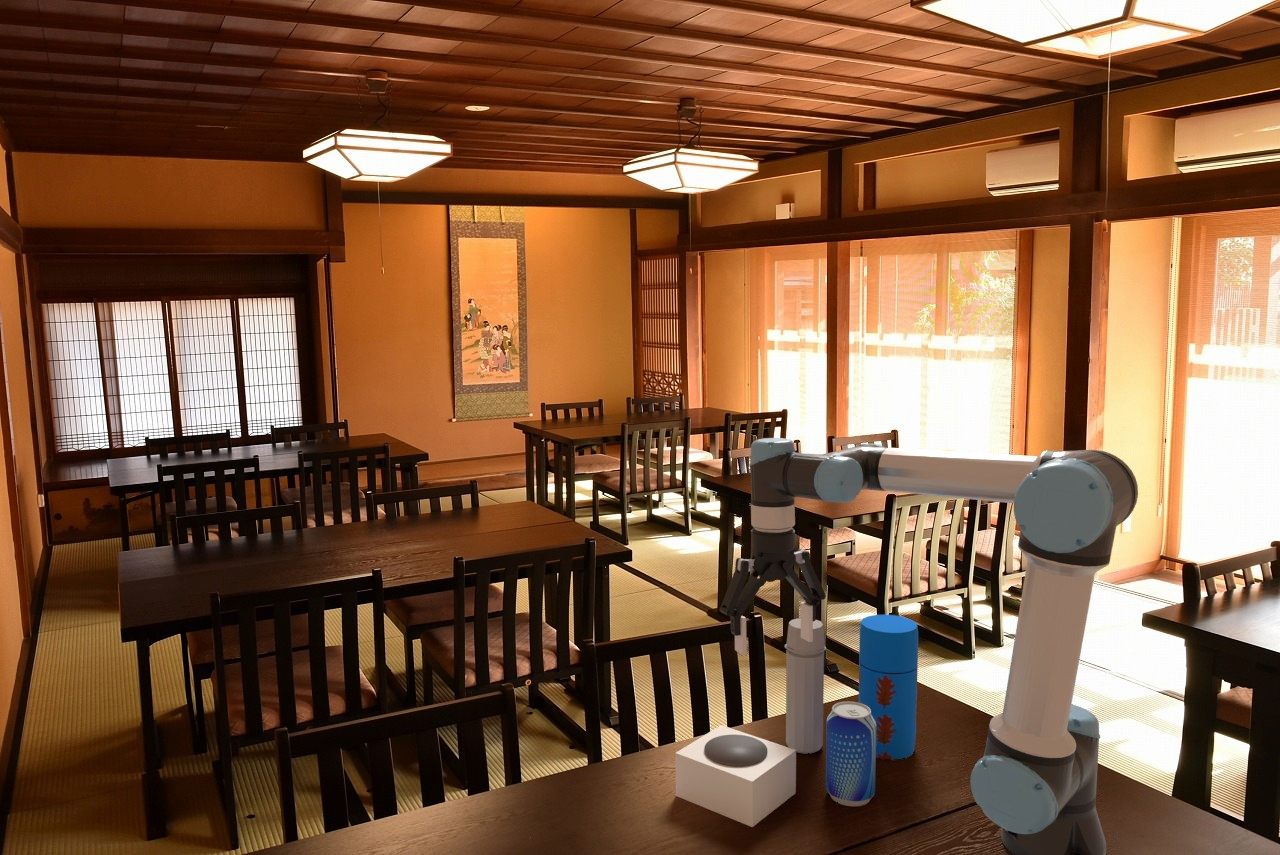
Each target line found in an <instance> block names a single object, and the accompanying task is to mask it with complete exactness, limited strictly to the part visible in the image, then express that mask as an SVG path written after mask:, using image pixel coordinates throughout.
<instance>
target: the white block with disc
mask: <svg viewBox="0 0 1280 855" xmlns="http://www.w3.org/2000/svg"><path fill="white" fill-rule="evenodd" d="M796 781H797V752H796V750H794V749H791V748H789V747H788V746H785V745H782V744H780V743H779V744H778V743H777V742H772V741H769V740H767V739H764V738H762V737H758V736H755V735H752V734H750V733H746V732H743V731H740V730H737V729H734V728H732V727H728V726H725V725H722V724H721V725H719V726H717V727H716V728H714V729H712V730H710V731H709V732H707V733H706V734H704V735H702V736H701V737H699V738H697V739H696V740H694V741H693V742H691V743H690V744H688V745H686V746H684V747H683V748H681V749H680V750H677V751H676V752H675V796H676V797H678V798H680V799H683V800H685V801H687V802H689V803H692V804H695V805H697V806H700V807H702V808H704V809H706V810H710V811H712V812H715V813H716V814H719V815H721V816H724V817H726V818H729V819H731V820H734V821H735V822H739V823H741V824H743V825H746V826H748V827H751V828H753V827H755V826H756V825H757V824H759V823H760V822H761V821H762V820H763V819H765V818H766V817H767V816H769V814H771V813H772V812H774V810H776V809H777V808H779V807H780V806H782V804H784V803H785V802H786V801H787V800H788V799H790V798H792V796H794V795H796V792H797V790H796V789H797V788H796V787H797V782H796Z"/></svg>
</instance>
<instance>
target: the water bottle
mask: <svg viewBox="0 0 1280 855" xmlns="http://www.w3.org/2000/svg"><path fill="white" fill-rule="evenodd" d="M824 629H825V628H824V624H823V622H822V621H821V620H818V619H816V620H815V621H813V641H812V642H808V641H806V640H804V639H802V638H801V617H799V618H795V619H791V620H790V621H789V622H788V627H787V636H786V644H784V648H785V649H786V651H785V653H786V656H785V657H786V659H785V660H786V663H785V668H786V671H785V672H786V675H785V676H786V678H785V680H786V683H785V686H786V687H785V692H786V693H785V744H786V745H787V747H788V748H791V749H794V750H796V753H800V754H804V755H805V754H806V755H807V754H808V753H809V754H813V753H816V752H817V753H818V752H819V751H820V750H821V749H822V747H823V746H824V694H825V693H824V691H825V690H824V689H825V688H824V686H825V685H824V683H825V682H824V681H825V680H824V678H825V677H824V676H825V675H824V674H825V673H824V672H825V670H824V669H825V651H826V650H827V647H826V642H825V631H824ZM809 754H808V755H809Z"/></svg>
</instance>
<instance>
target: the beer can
mask: <svg viewBox="0 0 1280 855" xmlns="http://www.w3.org/2000/svg"><path fill="white" fill-rule="evenodd" d="M825 738H826V740H825V744H826V746H825V748H826V750H825V752H826V753H825V759H826V760H825V789H826V791H827V793H828V794H829V795H830V798H831V799H832V800H833V801H834V802H836V803H837V802H838V804H839V805H842V806H846V807H862V806H865V805H867V804H868V803H869V802H870V801H871V799H872V798H873V797H874V795H875V794H876V760H877V758H876V722H875V720H874V718H873V716H872V715H871V710H870V708H869V707H868V706H866V705H864V704H861V703H859V702H858V701H857V702H856V701H840V702H836V703H835V704H834V705H832V707H831V711H830V713H829V714H828V716H827V718H826V737H825Z"/></svg>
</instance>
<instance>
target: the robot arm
mask: <svg viewBox="0 0 1280 855" xmlns="http://www.w3.org/2000/svg"><path fill="white" fill-rule="evenodd" d="M794 443H795V442H794V441H793V440H792V439H790V438H789V439H788V438H785V437H784V438H783V437H767V438H766V437H765V438H764V437H763V438H759V439H755V440H754V441H753V442H752V443H751V445H750V460H749V462H750V463H749V465H748V466H749V473H750V474H749V475H750V477H749V478H750V489H751V490H750V496H751V498H750V519H751V520H750V522H751V523H750V524H751V527H753V528H752V529H751V530H750V534H751V535H750V537H751V540H750V542H751V544H750V545H751V551H752V555H751V558H749V559H747V558H745V559H744V558H741V557H738V558H736V559H735V564H734V565H735V567H734V572H733V575H732V578H731V579H730V582H729V584H728V587H727V590H726V592H725V595H724V597H723V600H722V602H721V605H720V607H719V612H721V613H722V614H724V615H725V616H727V617H729V618H730V632H731V634H732V635H733V636H734V651H736V652H737V653H739V654H740V655H742V656H745V655H747V654H748V652H747V651H748V650H747V618H746V617H745V616H743V615H744V613H745V612H746V610H747V608H748V607H750V606H749V605H750V604H751V603H752V601H753V600H754V598H755V596H756V595H757V593H758V592H759V590H760V588H762V587H763V586H765V584H766V583H767V582H768V583H771V582H772V583H773V582H775V581H785V579H786V580H787V581H788V583H790V585H791V586H792V587H793V588H794V589H795V591H796V592H797V593H798V594H799V596H801V598H802V599H803V600H804V601H801V602H800V612H799V613H800V618H801V638H802V639H804V640H806V641H808V642H812V641H813V621H815V620H817V606H819V605H820V604H821V600H822V601H823V600H825V599H826V596H827V595H826V592H825V590H824V589H823V586H822V584H821V582H820V579H819V578H818V577H819V576H818V575H817V573H816V571H815V569H814V567H813V565H812V562H811V561H812V560H811V553H810V552H809V551H807V550H805V549H801V548H798V549H797V550H796V551H794V550H795V548H796V535H795V534H796V530H795V529H794V528H793V527H794V526H795V525H796V516H795V514H796V510H795V506H796V505H795V498H802V499H807V500H817V501H823V502H828V503H833V504H835V503H843V504H845V503H847V504H848V503H851V502H854V500H856V499H857V496H859V495H860V493H861V491H862V490H863V491H864V490H865V491H866V490H867V491H876V492H877V491H878V492H890V493H891V492H893V493H903V494H914V495H922V496H923V495H924V496H932V497H933V496H934V497H935V496H936V497H945V498H954V499H955V498H956V499H964V500H965V499H967V500H977V501H988V502H997V503H1009V504H1013V513H1014V519H1015V520H1014V521H1015V522H1016V525H1017V527H1019V529H1020V530H1019V538H1018V544H1017V546H1018V549H1019V550H1020V552H1021V553H1022V554H1023V555H1024V557H1025V558H1026V567H1025V568H1026V569H1025V574H1024V579H1023V580H1024V581H1023V586H1022V592H1021V598H1020V606H1019V611H1018V616H1017V623H1016V627H1015V628H1016V629H1015V636H1014V641H1013V646H1012V647H1013V648H1012V654H1011V660H1010V665H1009V671H1008V678H1007V684H1006V685H1007V686H1006V691H1005V696H1004V701H1003V702H1004V703H1003V708H1002V712H1001V713H999V714H997V715H995V716H993V717H992V718H991V719H990V722H989V725H988V732H987V738H986V742H985V749H984V754H983V757H981V758H979V759H978V760H977V761H976V763H975V764H974V767H973V768H972V771H971V774H970V777H969V778H970V779H969V780H970V781H969V782H970V789H971V793H972V796H973V798H974V800H975V801H974V802H975V803H976V804H977V805H978V806H979V807H980V809H981V810H982V813H984V815H985V816H986V817H987V818H988V819H989V820H990V821H992V822H993V823H994V824H995V825H997V826H999V827H1000V828H1001V830H1000V833H1001V834H1000V839H1001V842H1002V844H1003V845H1004V847H1005V848H1006V849H1007V850H1008V851H1009V852H1010V853H1011V854H1012V855H1107V840H1106V837H1105V835H1104V831H1103V828H1102V825H1101V822H1100V819H1099V815H1098V811H1097V808H1096V802H1097V801H1096V798H1097V784H1098V783H1097V782H1098V764H1099V763H1098V761H1099V750H1100V749H1099V742H1100V739H1101V735H1100V723H1099V720H1098V718H1097V717H1096V715H1095V714H1093V713H1092V712H1091V711H1089V710H1087V709H1085V708H1083V707H1081V706H1078V705H1076V704H1072V703H1073V697H1074V692H1075V686H1076V680H1077V676H1078V671H1079V670H1078V669H1079V665H1080V658H1081V653H1082V647H1083V641H1084V636H1085V630H1086V625H1087V619H1088V614H1089V609H1090V602H1091V596H1092V593H1093V592H1092V591H1093V586H1094V580H1095V574H1096V573H1097V572H1099V571H1100V570H1102V569H1104V568H1106V567H1108V566H1109V565H1110V562H1111V556H1112V551H1113V546H1114V543H1115V542H1114V541H1115V535H1116V531H1117V527H1118V526H1120V524H1122V523H1123V522H1125V521H1126V520H1127V519H1128V518H1129V517H1130V515H1131V514H1132V513H1133V511H1134V510H1135V507H1136V505H1137V502H1138V498H1139V487H1138V481H1137V478H1136V476H1135V474H1134V472H1133V471H1132V469H1131V468H1130V466H1129V465H1128V464H1127V463H1126V462H1125V461H1124V460H1123V459H1121V458H1119V457H1118V456H1116V455H1114V454H1112V453H1111V452H1108V451H1104V450H1097V449H1083V450H1082V449H1081V450H1051V449H1049V450H1044V451H1043V452H1042V453H1040V454H1038V456H1036V455H1023V454H1022V455H1021V454H1020V455H1019V454H1007V453H1004V454H1003V453H1002V454H1001V453H989V452H988V453H985V452H971V451H970V452H968V451H955V450H954V451H950V450H937V449H936V450H934V449H917V448H916V449H915V448H903V447H902V448H900V447H898V448H897V447H884V446H883V445H880V444H877V443H861V444H859V445H856V446H853V447H850V448H849V447H848V448H844V449H841V450H840V449H839V450H836V451H831V452H827V453H823V454H819V453H818V454H817V453H816V454H815V453H801V452H796V448H795V444H794ZM795 562H796V563H797V564H798V567H799V569H800V571H801V573H802V575H803V578H804V580H805V581H806V583H807V585H806V584H805V583H804V582H803V581H802V580H801V578H800V576H799V575H798V573H797V572H796V571H795V570H794V569H793V566H794V565H795ZM751 568H752V569H753V570H752V569H751ZM751 570H752V571H751ZM749 572H751V573H750V574H749ZM748 575H749V576H748ZM747 579H748V580H747ZM746 580H747V582H746Z"/></svg>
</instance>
